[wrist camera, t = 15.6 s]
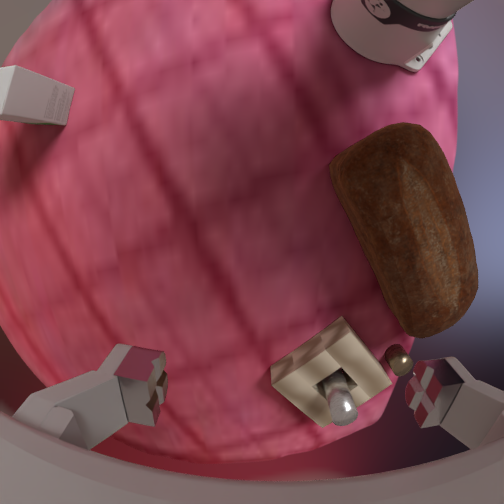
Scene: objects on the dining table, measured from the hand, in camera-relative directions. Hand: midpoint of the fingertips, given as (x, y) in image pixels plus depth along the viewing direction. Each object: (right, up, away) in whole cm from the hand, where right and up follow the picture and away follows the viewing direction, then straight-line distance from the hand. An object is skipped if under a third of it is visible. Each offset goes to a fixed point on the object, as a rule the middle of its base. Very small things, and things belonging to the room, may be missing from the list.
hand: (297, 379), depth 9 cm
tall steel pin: (+11, -15, +38) cm, 43 cm away
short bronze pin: (+23, -13, +38) cm, 46 cm away
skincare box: (-33, +27, +28) cm, 51 cm away
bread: (+19, +8, +32) cm, 38 cm away
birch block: (+11, -15, +38) cm, 43 cm away
